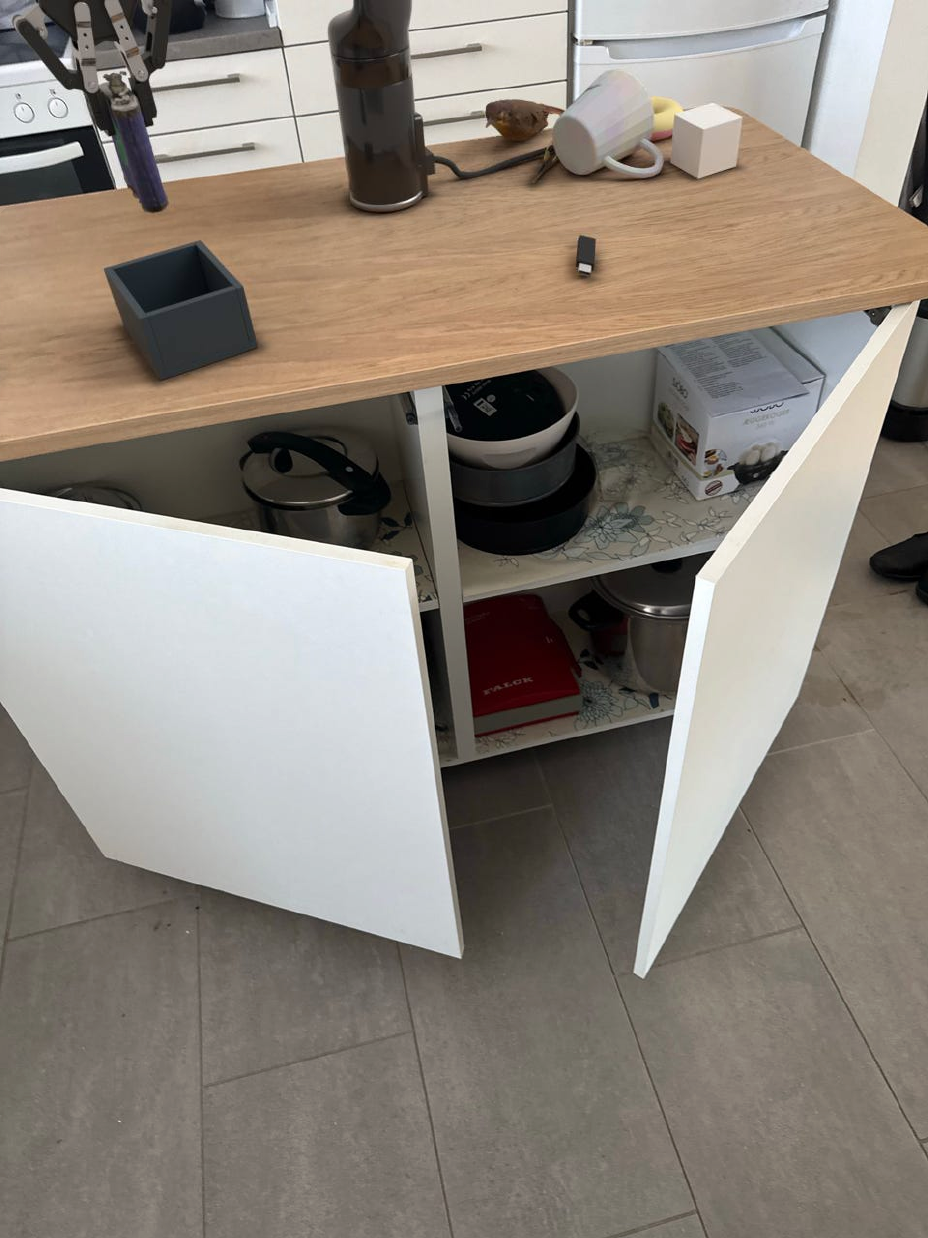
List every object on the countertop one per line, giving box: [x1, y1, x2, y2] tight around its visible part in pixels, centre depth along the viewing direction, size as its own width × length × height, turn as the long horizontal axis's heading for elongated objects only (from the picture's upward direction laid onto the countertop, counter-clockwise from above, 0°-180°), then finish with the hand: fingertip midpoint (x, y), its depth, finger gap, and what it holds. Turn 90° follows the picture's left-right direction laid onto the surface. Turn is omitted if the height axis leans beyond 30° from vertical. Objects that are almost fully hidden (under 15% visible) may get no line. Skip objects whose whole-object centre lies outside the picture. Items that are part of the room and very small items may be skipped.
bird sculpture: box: [484, 98, 566, 142], centre depth 131 cm, size 7×25×5 cm, turn 150°
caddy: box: [103, 239, 259, 381], centre depth 97 cm, size 11×13×7 cm
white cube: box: [669, 102, 744, 179], centre depth 120 cm, size 6×6×6 cm
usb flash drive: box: [575, 234, 597, 277], centre depth 106 cm, size 8×2×1 cm, turn 173°
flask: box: [99, 70, 170, 215], centre depth 87 cm, size 9×3×11 cm, turn 27°
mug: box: [551, 68, 665, 179], centre depth 121 cm, size 10×15×10 cm
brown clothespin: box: [532, 139, 559, 184], centre depth 125 cm, size 12×3×1 cm, turn 157°
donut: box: [649, 96, 685, 142], centre depth 130 cm, size 10×5×9 cm
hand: (128, 127), depth 86 cm, fingers closed on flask, 3 cm apart
